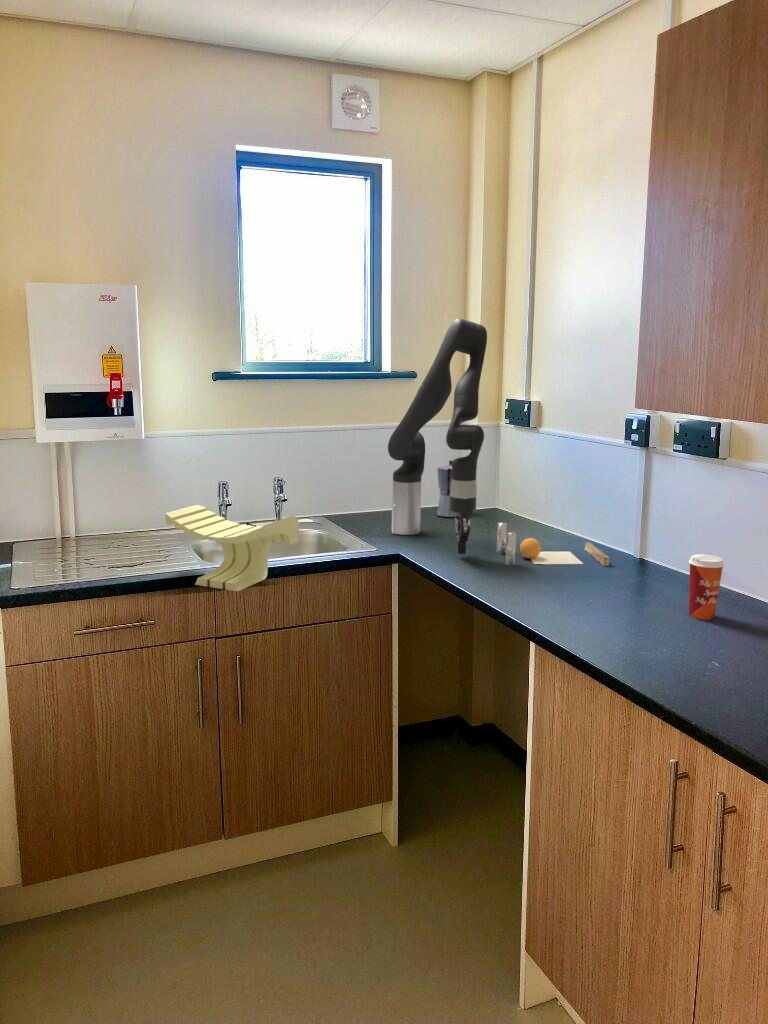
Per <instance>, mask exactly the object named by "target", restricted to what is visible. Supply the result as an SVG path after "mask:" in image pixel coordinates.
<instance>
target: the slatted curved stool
mask: <svg viewBox="0 0 768 1024" xmlns="http://www.w3.org/2000/svg"><path fill="white" fill-rule="evenodd" d="M165 525H174V529H175V530H176V529H177V530H183V534H186V535H191V534H192V539H198V540H203V541H204V540H208V541H211V542H219V544H220V546H221V548H222V549H223V555H224V558H223V561H222V563H221V564H220V565H219V566H217V567H216V568H215V569H213V570H212V571H210V572H208V573H206V574H204V575H202V576H199V577H197V579H196V582H195V583H194V585H195V586H202V587H209V588H214V589H221V590H223V589H225V590H227V591H234V592H239V591H242V590H244V589H246V588H248V587H250V586H253V585H255V584H257V583H259V582H261V581H264V580H266V578H267V576H268V570H269V569H268V566H269V565H268V564H269V557H270V556H269V555H270V551H271V547H272V545H273V544H272V542H278V543H282V542H283V543H284V544H286V545H290V546H293V545H295V544H297V543H299V542H300V523H299V520H298V518H297V517H296V516H295V515H291V516H288V517H285V518H282V519H278V520H275V521H273V522H271V523H268V524H265V525H257V526H255V525H248V524H241V523H238V522H234V521H232V520H228V519H227V520H226V517H223V516H220V515H218V514H217V513H216V512H213V511H211V510H209V509H208V508H207V507H205V506H203V505H200V504H195V505H189V506H187V507H184V508H179V509H176V510H172V511H168V512H165Z"/></svg>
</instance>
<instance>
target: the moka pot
mask: <svg viewBox="0 0 768 1024" xmlns="http://www.w3.org/2000/svg"><path fill="white" fill-rule="evenodd" d="M452 462H453V460H448V463H449V464H448V465H444V466H437V479H438V489H439V499H438V505H437V511H436V516H439V517H444V518H445V517H446V518H455V517H457V513H456V512H452V511H451V510H450V486H451V479H452Z"/></svg>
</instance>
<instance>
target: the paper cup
mask: <svg viewBox="0 0 768 1024" xmlns="http://www.w3.org/2000/svg"><path fill="white" fill-rule="evenodd" d="M688 563H689V582H688V583H689V586H688V616H689V617H690V616H691V618H692V617H693V619H695V618H696V619H695V620H700V619H701V620H702V621H711V620H710V619H712V620H714V619H715V615H716V610H717V605H718V599H719V594H720V593H719V592H720V588H721V587H720V585H721V579H722V574H723V567H725V563H724V560H723V558H721V557H720V556H717V555H714V554H713V555H712V554H705V553H704V554H703V553H701V554H700V553H696V554H692V555H691V556H690V559H689V560H688ZM713 618H714V619H713Z"/></svg>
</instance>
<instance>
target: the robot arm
mask: <svg viewBox="0 0 768 1024" xmlns="http://www.w3.org/2000/svg"><path fill="white" fill-rule="evenodd" d="M487 343H488V332H487V329H486V326H483V325H482V324H480V323H476V322H474V321H470V320H466V319H464V318H456V319H454V320H453V321H452V322H451V323H450V325H449V327H448V328H447V330H446V333H445V335H444V337H443V340H442V342H441V343H440V347H439V349H438V352H437V354H436V356H435V358H434V360H433V362H432V364H431V366H430V368H429V370H428V371H427V374H426V376H425V377H424V379H423V381H421V384H420V386H419V388H418V389H417V392H416V394H415V396H414V398H413V400H412V401H411V404H410V405H409V408H408V409H407V411H406V413H405V414H404V416H403V418H402V419H401V421H400V422H399V424H398V425H397V426H396V428H395V429H394V431H393V432H392V434H391V436H390V437H389V439H388V445H387V453H388V455H389V457H390V458H391V459H392V460H394V461H402V463H401V466H399V467H398V468H397V469H395V470H394V471H393V473H392V502H391V533H392V535H401V536H402V535H404V536H409V535H410V536H412V535H418V534H421V515H422V514H421V512H422V510H421V509H422V508H421V505H422V501H421V500H422V476H423V474H424V470H425V460H426V441H425V438H424V436H423V434H422V433H421V432H420V431H421V429H422V428H423V427H424V426H425V425H427V424H428V423H429V422H430V421H431V420H433V419H434V418H435V417H436V416H437V415H438V414H439V413H440V412H441V411H442V409H443V408H444V406H445V405H446V402H447V401H448V399H449V397H450V395H451V393H452V387H453V386H452V384H453V383H452V376H451V367H450V366H451V362H452V358H453V356H454V354H455V353H456V352H458V353H462V354H466V355H468V356H469V363H468V364H469V365H468V367H467V369H466V371H465V372H464V373H463V375H462V376H461V377H460V379H459V380H458V382H457V383H456V386H455V389H454V392H453V412H452V413H453V414H452V417H451V421H450V424H449V426H448V429H447V431H446V436H445V442H446V445H447V446H448V448H449V449H451V450H457V451H458V450H459V451H461V450H462V451H466V450H467V451H470V452H469V454H468V455H466V456H462V457H457V458H454V459H452V461H453V462H452V479H451V486H450V510H451V511H452V512H456V513H457V517H454V523H455V536H456V540H457V550H456V552H457V553H458V554H459V555H465V554H466V548H467V547H466V546H467V542H468V540H469V536H470V531H471V527H470V525H471V518H470V517H469V514H471V513H475V512H476V511H477V489H478V488H477V487H478V486H477V485H478V484H477V469H478V468H477V467H478V461H479V456H480V452H481V449H482V446H483V444H484V443H483V442H484V440H485V432H484V429H483V428H482V427H481V426H480V425H478V424H477V425H476V424H462V423H464V422H468V421H469V422H470V421H473V420H474V419H476V418H477V417H478V414H479V396H480V395H479V393H480V382H481V377H482V371H483V367H484V360H485V354H486V349H487Z"/></svg>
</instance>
